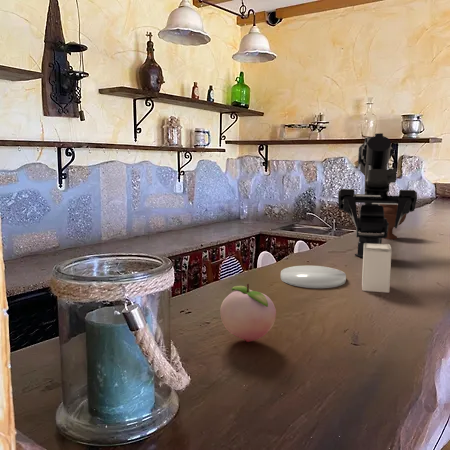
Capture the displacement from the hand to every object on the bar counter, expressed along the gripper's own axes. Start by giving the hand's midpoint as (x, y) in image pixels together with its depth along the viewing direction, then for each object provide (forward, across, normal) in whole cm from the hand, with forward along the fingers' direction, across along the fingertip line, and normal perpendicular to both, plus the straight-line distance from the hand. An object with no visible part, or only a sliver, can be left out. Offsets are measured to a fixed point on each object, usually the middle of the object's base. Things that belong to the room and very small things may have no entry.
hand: (376, 226), depth 110 cm
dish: (+12, -15, +7) cm, 20 cm away
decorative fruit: (+42, -22, -23) cm, 52 cm away
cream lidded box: (+15, 0, +4) cm, 15 cm away
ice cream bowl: (-34, +8, +53) cm, 64 cm away
